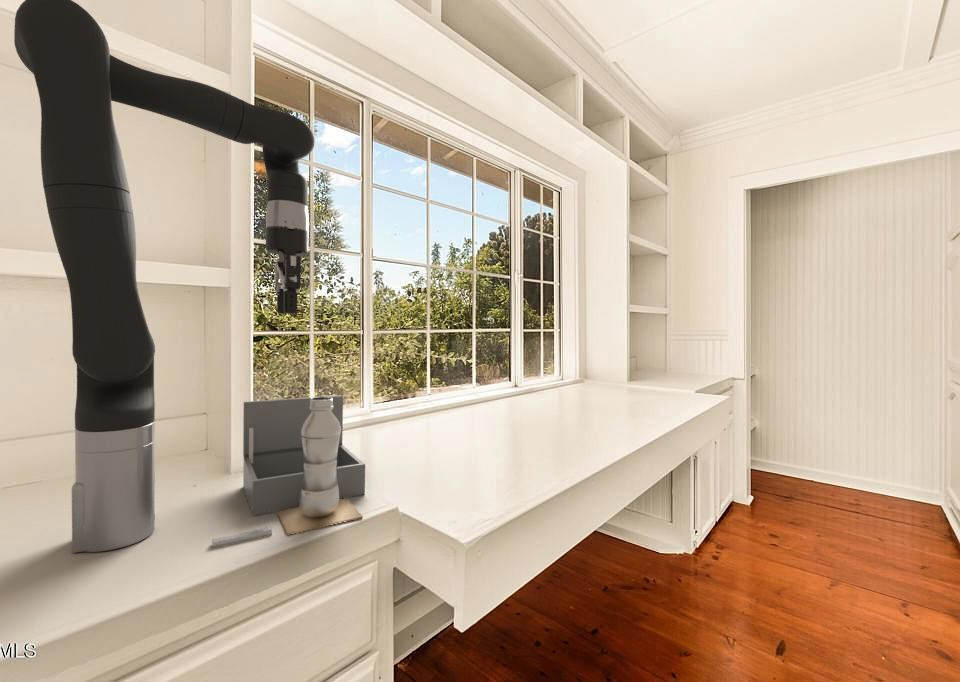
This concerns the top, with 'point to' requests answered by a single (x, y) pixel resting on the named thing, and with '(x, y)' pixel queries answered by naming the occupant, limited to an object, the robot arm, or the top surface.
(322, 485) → the plastic bottle
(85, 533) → the robot arm
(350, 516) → the cork pad
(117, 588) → the top surface
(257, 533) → the rod
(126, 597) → the top surface
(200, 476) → the top surface
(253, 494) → the case
